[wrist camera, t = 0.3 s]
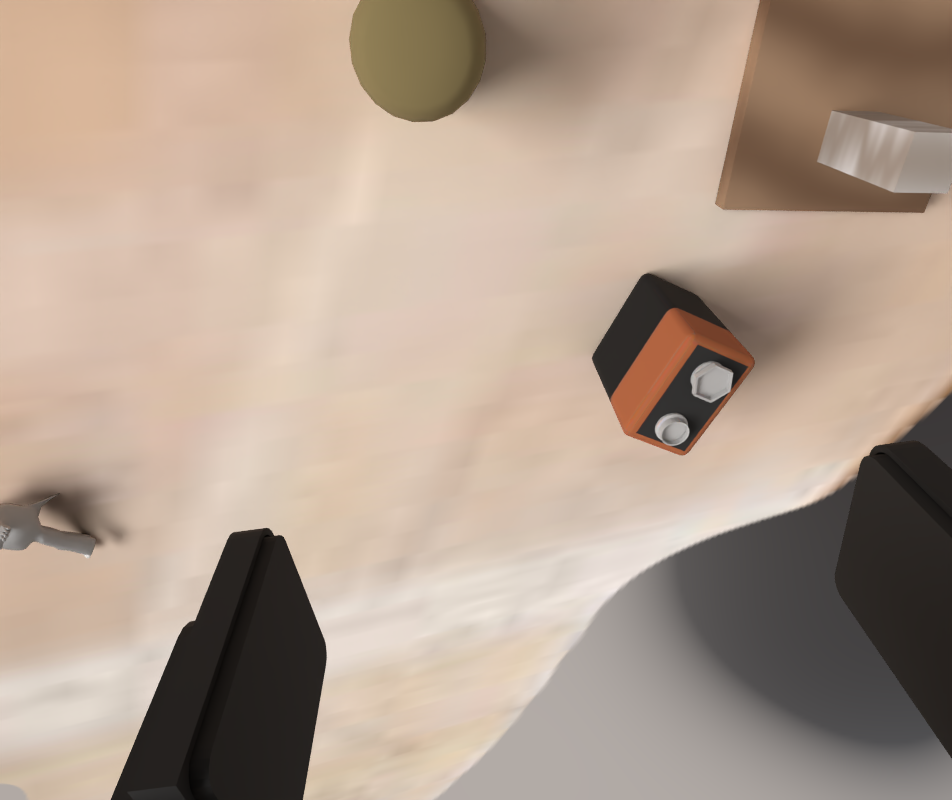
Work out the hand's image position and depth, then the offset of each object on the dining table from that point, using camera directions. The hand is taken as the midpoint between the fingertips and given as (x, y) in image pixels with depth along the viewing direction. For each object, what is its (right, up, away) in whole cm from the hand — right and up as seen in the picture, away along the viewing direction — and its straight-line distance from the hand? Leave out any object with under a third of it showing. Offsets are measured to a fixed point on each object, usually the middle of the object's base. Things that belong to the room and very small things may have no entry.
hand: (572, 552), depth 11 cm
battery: (+9, +7, +31) cm, 33 cm away
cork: (-4, +21, +22) cm, 31 cm away
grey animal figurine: (-33, -5, +36) cm, 49 cm away
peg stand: (+19, +22, +23) cm, 37 cm away
